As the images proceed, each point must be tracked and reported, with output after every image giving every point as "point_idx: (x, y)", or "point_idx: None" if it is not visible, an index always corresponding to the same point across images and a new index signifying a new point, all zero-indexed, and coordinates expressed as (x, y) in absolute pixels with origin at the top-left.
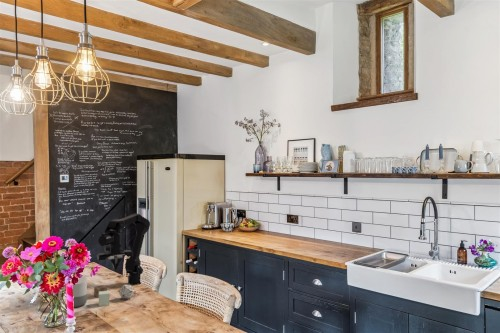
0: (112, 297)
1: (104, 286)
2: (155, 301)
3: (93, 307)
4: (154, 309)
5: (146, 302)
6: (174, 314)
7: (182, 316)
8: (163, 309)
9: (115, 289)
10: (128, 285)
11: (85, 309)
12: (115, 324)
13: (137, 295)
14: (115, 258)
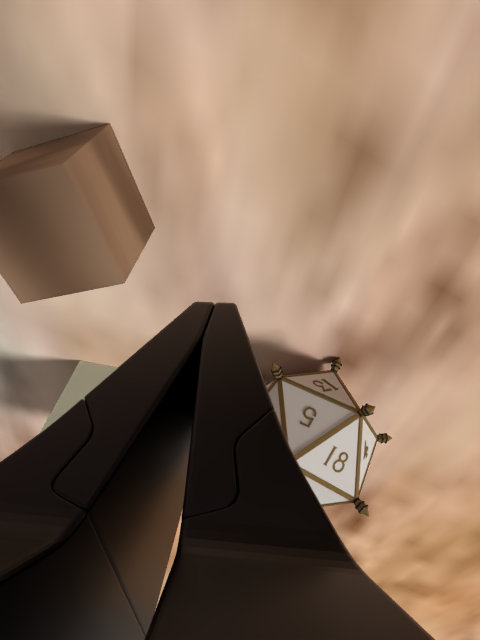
0: (200, 298)
1: (89, 251)
2: (459, 503)
3: (51, 411)
4: (379, 564)
5: (398, 491)
6: (423, 619)
7: (437, 636)
8: (418, 579)
9: (298, 6)
10: (320, 501)
11: (3, 415)
12: (163, 582)
13: (425, 359)
14: (159, 610)
